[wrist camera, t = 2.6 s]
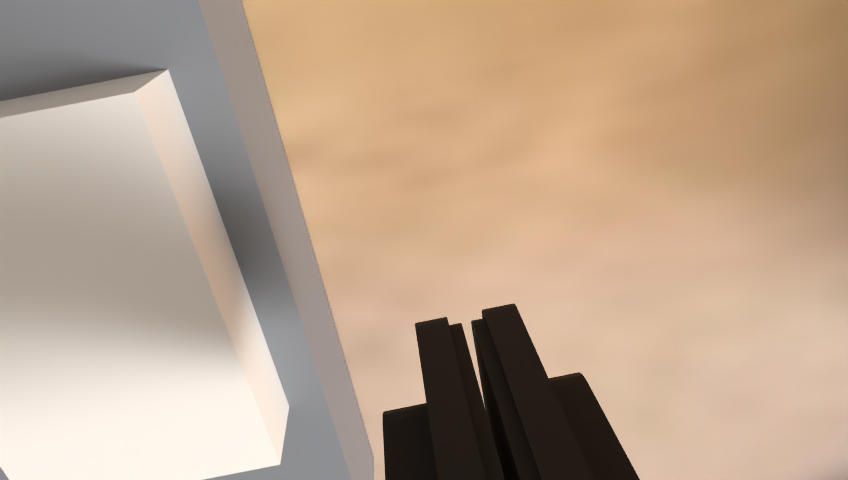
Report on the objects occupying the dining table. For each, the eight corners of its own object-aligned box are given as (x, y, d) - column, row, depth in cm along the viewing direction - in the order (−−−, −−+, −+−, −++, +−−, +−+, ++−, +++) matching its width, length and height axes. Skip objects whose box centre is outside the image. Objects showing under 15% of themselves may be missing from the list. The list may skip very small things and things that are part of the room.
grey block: (-502, -163, 13) (-841, -202, 9) (157, -289, 13) (78, -376, 9) (6, 529, 23) (-61, 639, 19) (373, 457, 23) (375, 554, 19)
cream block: (-128, 126, 12) (-213, 158, 10) (167, 69, 12) (134, 92, 10) (68, 449, 16) (31, 512, 14) (289, 406, 16) (279, 464, 14)
